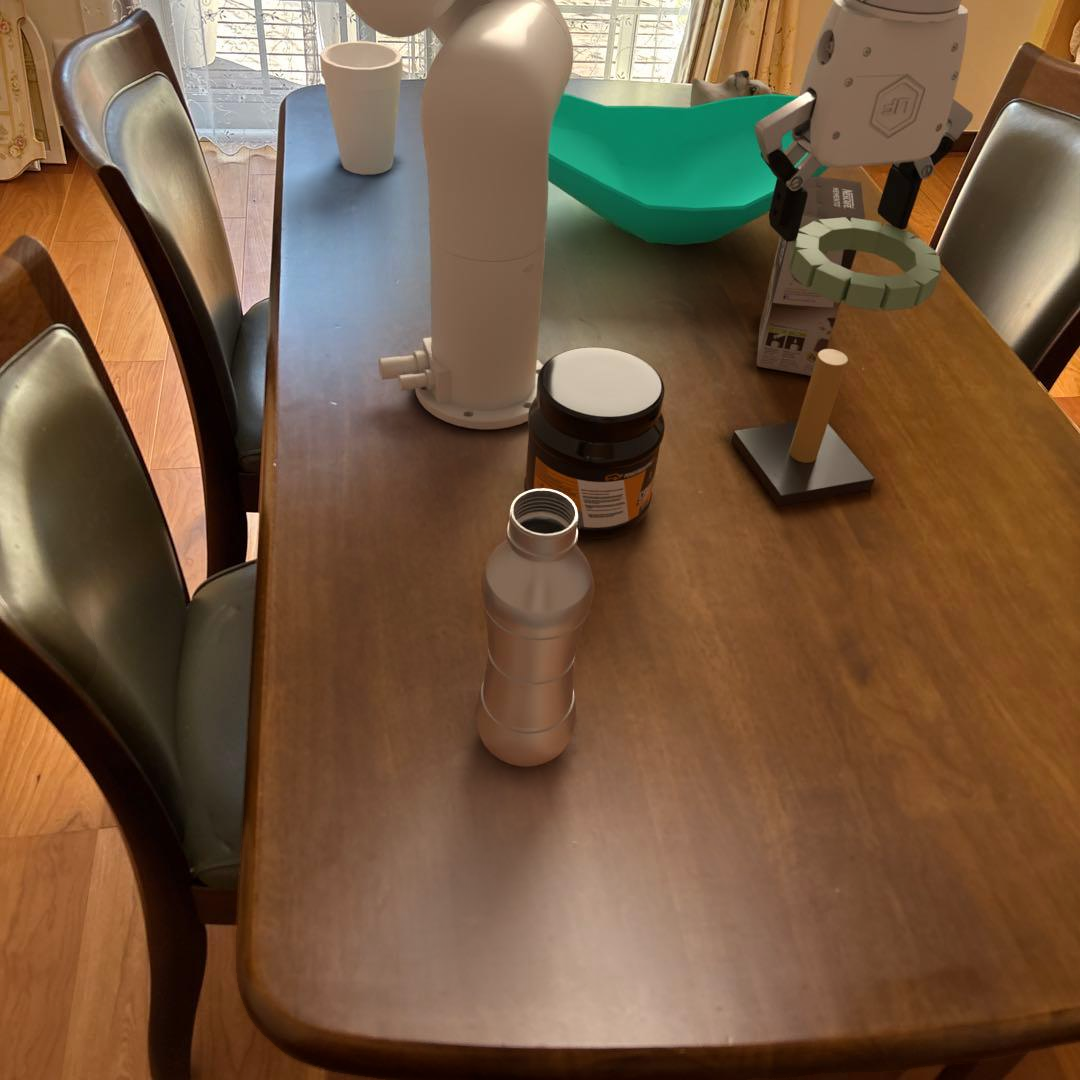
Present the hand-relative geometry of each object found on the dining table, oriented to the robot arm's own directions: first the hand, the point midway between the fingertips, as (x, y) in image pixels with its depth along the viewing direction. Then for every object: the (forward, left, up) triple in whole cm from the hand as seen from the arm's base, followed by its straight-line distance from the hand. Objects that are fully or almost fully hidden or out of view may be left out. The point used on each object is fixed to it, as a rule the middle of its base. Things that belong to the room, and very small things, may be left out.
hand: (837, 227), depth 78 cm
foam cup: (-25, +63, -21) cm, 71 cm away
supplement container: (-20, -4, -21) cm, 29 cm away
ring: (0, -4, -2) cm, 5 cm away
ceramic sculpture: (+27, +64, -21) cm, 73 cm away
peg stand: (0, -4, -20) cm, 21 cm away
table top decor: (+5, +40, -21) cm, 45 cm away
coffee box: (+8, +13, -21) cm, 26 cm away
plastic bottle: (-32, -25, -21) cm, 45 cm away
